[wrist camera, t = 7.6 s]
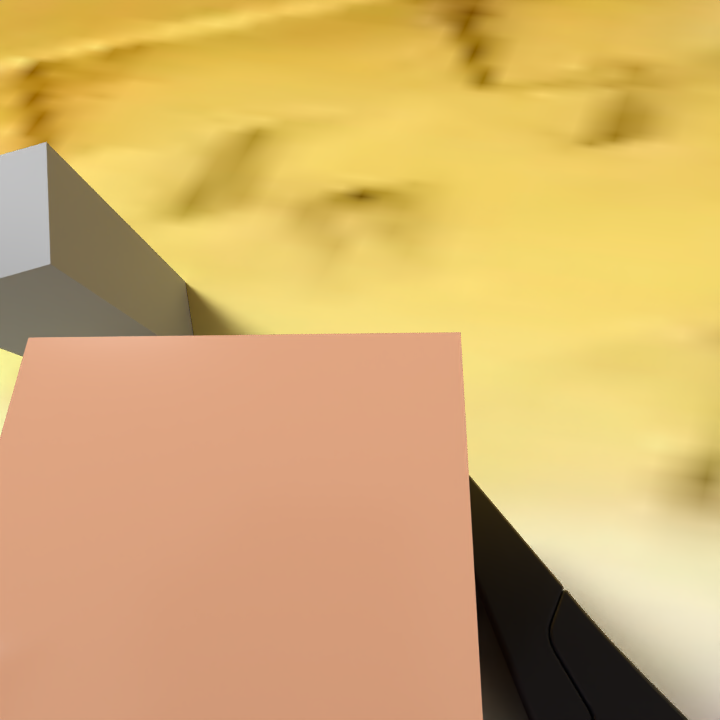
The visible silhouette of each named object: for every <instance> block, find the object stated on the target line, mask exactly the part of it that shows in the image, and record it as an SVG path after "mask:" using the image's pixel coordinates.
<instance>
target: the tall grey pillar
mask: <svg viewBox="0 0 720 720" xmlns="http://www.w3.org/2000/svg"><path fill="white" fill-rule="evenodd" d="M118 336H193V329H192V323H191V316H190V309H189V303H188V296H187V290H186V283H185V281H184V280H183V279H182V278H181V277H180V276H179V275H178V274H177V273H176V272H175V271H174V270H173V269H172V268H171V267H170V266H169V265H168V264H167V263H166V262H165V261H164V260H163V259H162V258H161V257H160V256H159V255H158V254H157V253H156V252H155V251H154V250H153V249H152V248H151V247H150V246H149V245H148V244H147V243H146V242H145V241H144V240H143V239H142V238H141V237H140V236H139V235H138V234H137V233H136V232H135V231H134V230H133V229H132V228H131V227H130V226H129V225H128V224H127V223H126V222H125V221H124V220H123V219H122V218H121V217H120V216H119V215H118V214H117V213H116V212H115V211H114V210H113V209H112V208H111V207H110V206H109V205H108V204H107V203H106V202H105V201H104V200H103V199H102V198H101V197H100V196H99V195H98V194H97V193H96V192H95V191H94V190H93V189H92V188H91V187H90V186H89V185H88V184H87V183H86V182H85V181H84V180H83V179H82V178H81V177H80V176H79V175H78V174H77V173H76V172H75V171H74V170H73V169H72V167H71V166H70V165H69V164H68V163H67V162H66V161H65V160H64V159H63V158H62V157H61V156H60V155H59V154H58V153H57V152H56V151H55V150H54V149H53V148H52V147H51V146H50V145H49V144H48V143H47V142H45V143H42V144H38V145H34V146H31V147H27V148H24V149H20V150H17V151H13V152H10V153H6V154H3V155H0V348H1V349H4V350H7V351H9V352H12V353H15V354H17V355H20V356H23V355H24V351H25V348H26V344H27V341H28V338H34V337H118Z"/></svg>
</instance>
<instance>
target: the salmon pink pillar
mask: <svg viewBox="0 0 720 720" xmlns="http://www.w3.org/2000/svg"><path fill="white" fill-rule="evenodd" d="M0 720H483V714H482V696H481V679H480V662H479V644H478V627H477V610H476V592H475V575H474V558H473V540H472V523H471V506H470V488H469V471H468V454H467V436H466V419H465V402H464V384H463V367H462V350H461V332H454V333H370V334H286V335H202V336H118V337H34V338H28V341H27V344H26V348H25V351H24V355H23V359H22V362H21V366H20V369H19V373H18V376H17V380H16V383H15V387H14V391H13V394H12V398H11V401H10V405H9V408H8V412H7V415H6V419H5V422H4V426H3V430H2V433H1V437H0Z"/></svg>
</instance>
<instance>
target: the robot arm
mask: <svg viewBox="0 0 720 720" xmlns="http://www.w3.org/2000/svg"><path fill="white" fill-rule="evenodd" d="M469 488H470V506H471V523H472V540H473V558H474V575H475V592H476V610H477V627H478V644H479V662H480V679H481V696H482V714H483V720H688V719H687V718H686V717H685V716H684V715H683V714H682V713H681V712H680V711H679V710H678V709H677V708H676V707H675V706H674V705H673V704H672V703H671V702H670V701H669V700H668V699H667V698H666V697H665V696H664V695H663V694H662V693H661V692H660V691H659V690H658V689H657V688H656V687H655V686H654V685H653V684H652V683H651V682H650V681H649V680H648V679H647V678H646V677H645V676H644V675H643V674H642V673H641V672H640V671H639V670H638V669H637V668H636V667H635V665H634V664H633V663H632V662H631V661H630V660H629V659H628V658H627V657H626V656H625V655H624V654H623V653H622V652H621V651H620V650H619V649H618V648H617V647H616V646H615V645H614V644H613V643H612V642H611V641H610V639H609V638H608V637H607V636H606V635H605V634H604V633H603V632H602V630H601V629H600V628H599V627H598V626H597V625H596V624H595V623H594V621H593V620H592V619H591V618H590V617H589V616H588V615H587V614H586V612H585V611H584V610H583V609H582V608H581V607H580V605H579V604H578V603H577V602H576V601H575V600H574V598H573V597H572V596H571V595H570V594H569V592H568V591H566V590H564V591H563V589H564V587H563V586H562V584H561V583H560V582H559V581H558V580H557V578H556V577H555V576H554V575H553V574H552V572H551V571H550V570H549V569H548V568H547V567H546V565H545V564H544V563H543V562H542V561H541V559H540V558H539V557H538V556H537V555H536V554H535V552H534V551H533V550H532V549H531V548H530V546H529V545H528V544H527V543H526V542H525V541H524V539H523V538H522V537H521V536H520V535H519V533H518V532H517V531H516V530H515V529H514V528H513V526H512V525H511V524H510V523H509V522H508V520H507V519H506V518H505V517H504V516H503V515H502V513H501V512H500V511H499V510H498V509H497V507H496V506H495V505H494V504H493V503H492V502H491V500H490V499H489V498H488V497H487V496H486V494H485V493H484V492H483V491H482V490H481V489H480V487H479V486H478V485H477V484H476V483H475V481H474V480H473V479H472V478H471V477H470V476H469Z"/></svg>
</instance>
